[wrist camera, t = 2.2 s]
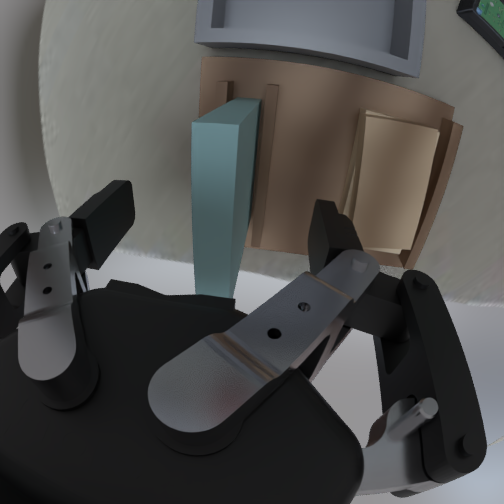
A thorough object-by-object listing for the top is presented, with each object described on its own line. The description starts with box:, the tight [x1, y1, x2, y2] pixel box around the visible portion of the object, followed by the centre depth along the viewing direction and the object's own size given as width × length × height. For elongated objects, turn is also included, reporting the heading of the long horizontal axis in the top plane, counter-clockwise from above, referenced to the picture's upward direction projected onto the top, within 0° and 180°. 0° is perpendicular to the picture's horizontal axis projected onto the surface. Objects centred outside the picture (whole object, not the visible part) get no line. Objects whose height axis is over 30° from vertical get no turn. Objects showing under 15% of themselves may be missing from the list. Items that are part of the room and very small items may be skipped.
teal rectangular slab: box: [191, 97, 262, 298], centre depth 14 cm, size 1×8×9 cm, turn 175°
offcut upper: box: [348, 113, 438, 250], centre depth 15 cm, size 4×8×1 cm, turn 1°
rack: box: [199, 57, 463, 270], centre depth 17 cm, size 16×13×3 cm
